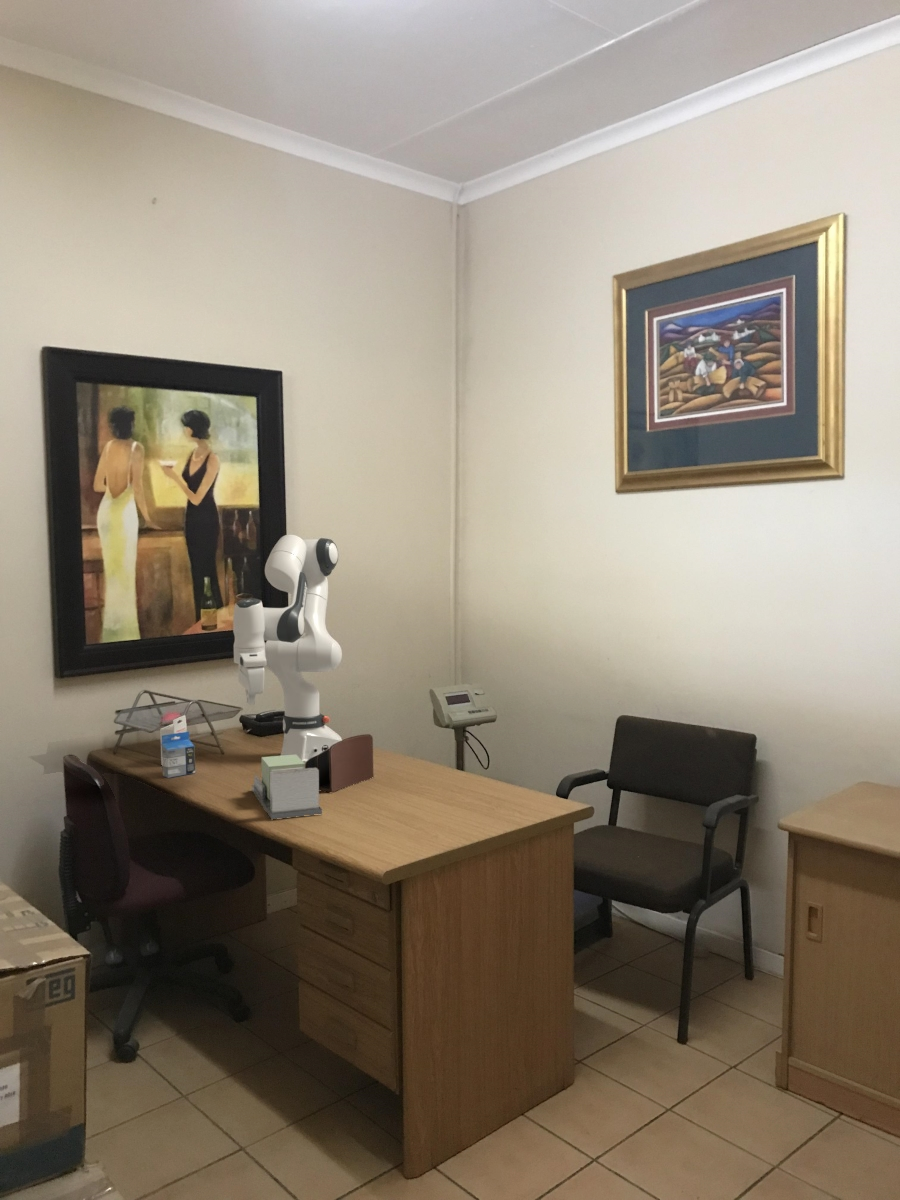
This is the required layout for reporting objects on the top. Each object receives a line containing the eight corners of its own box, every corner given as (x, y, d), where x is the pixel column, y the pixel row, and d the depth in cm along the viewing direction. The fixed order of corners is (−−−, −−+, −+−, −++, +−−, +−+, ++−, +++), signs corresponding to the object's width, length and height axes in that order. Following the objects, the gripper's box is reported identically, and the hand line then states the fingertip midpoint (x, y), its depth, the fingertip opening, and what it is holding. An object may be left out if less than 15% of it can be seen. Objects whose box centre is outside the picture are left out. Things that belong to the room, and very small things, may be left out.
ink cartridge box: (173, 759, 301) (172, 713, 300) (187, 760, 300) (187, 714, 299) (160, 765, 292) (159, 719, 291) (174, 766, 291) (174, 719, 290)
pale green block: (261, 789, 260) (261, 757, 259) (296, 786, 263) (296, 754, 263) (269, 800, 249) (269, 767, 249) (305, 797, 253) (305, 764, 252)
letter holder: (374, 778, 280) (374, 731, 279) (331, 793, 263) (331, 744, 262) (347, 773, 285) (347, 727, 284) (304, 788, 268) (303, 739, 267)
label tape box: (167, 778, 278) (167, 737, 277) (161, 775, 281) (161, 735, 280) (195, 773, 283) (195, 733, 282) (189, 770, 286) (188, 731, 286)
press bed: (251, 790, 265) (251, 750, 264) (297, 786, 270) (297, 746, 269) (271, 820, 238) (270, 775, 237) (321, 814, 243) (321, 771, 242)
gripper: (232, 651, 277) (233, 697, 279) (244, 662, 258) (245, 712, 260) (254, 649, 280) (255, 695, 281) (267, 661, 261) (268, 710, 262)
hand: (250, 703), depth 270 cm, fingers closed
